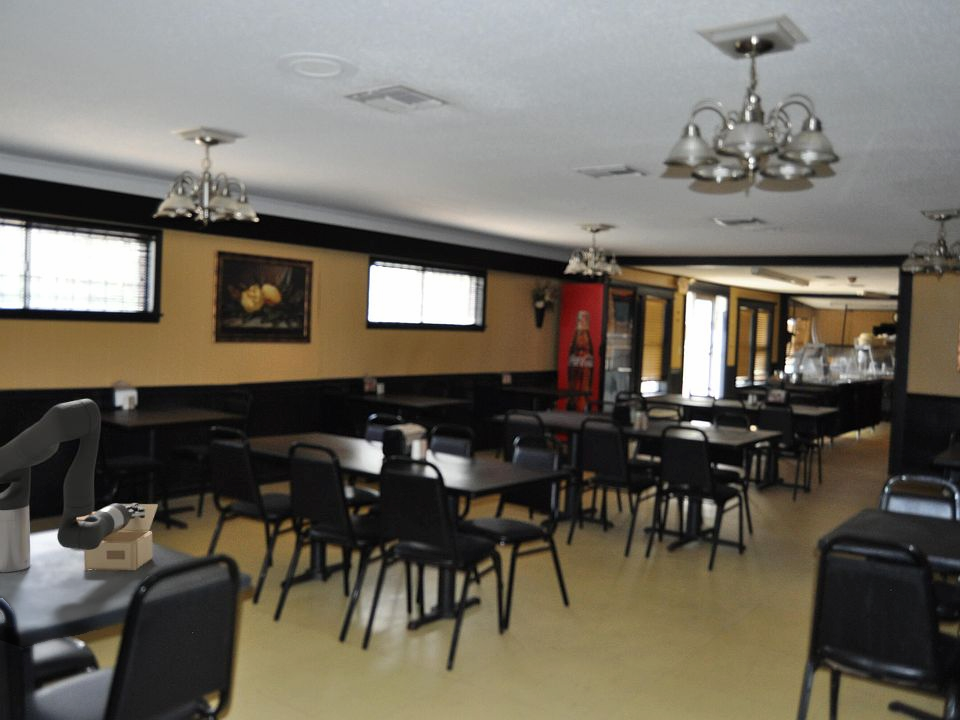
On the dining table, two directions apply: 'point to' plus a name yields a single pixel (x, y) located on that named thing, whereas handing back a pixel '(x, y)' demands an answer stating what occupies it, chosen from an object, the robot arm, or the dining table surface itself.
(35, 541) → the dining table surface
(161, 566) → the dining table surface
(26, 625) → the dining table surface
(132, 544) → the carton
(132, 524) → the flap
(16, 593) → the dining table surface
